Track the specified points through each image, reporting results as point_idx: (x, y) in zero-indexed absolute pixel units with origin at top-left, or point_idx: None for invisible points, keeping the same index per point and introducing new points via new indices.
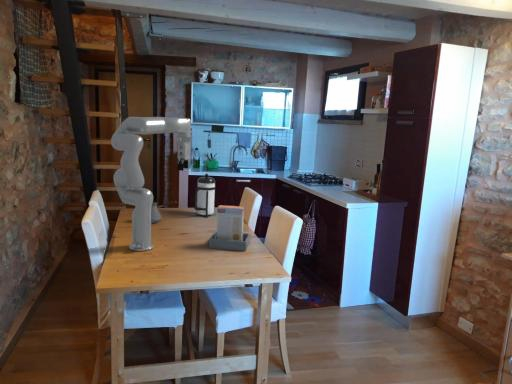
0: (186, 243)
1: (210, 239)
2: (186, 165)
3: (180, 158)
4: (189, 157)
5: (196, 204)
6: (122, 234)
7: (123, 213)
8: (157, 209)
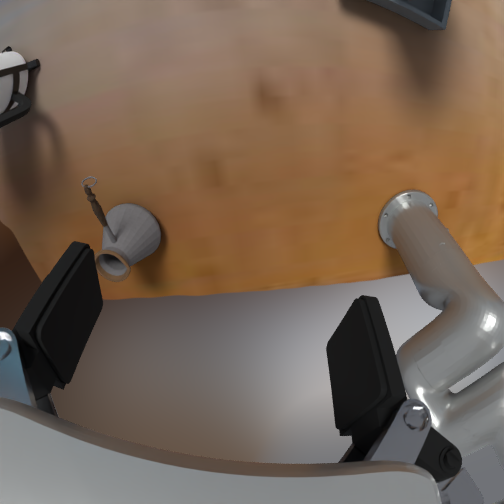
0: (387, 91)
1: (445, 25)
2: (73, 300)
3: (461, 486)
4: (22, 450)
5: (16, 108)
6: (286, 277)
7: None
8: (118, 235)
